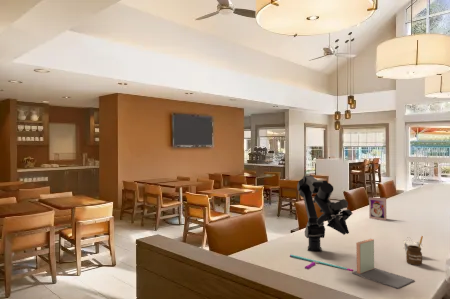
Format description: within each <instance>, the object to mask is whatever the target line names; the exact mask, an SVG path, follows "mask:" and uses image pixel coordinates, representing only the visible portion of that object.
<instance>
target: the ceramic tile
mask: <svg viewBox="0 0 450 299" xmlns="http://www.w3.org/2000/svg"><path fill="white" fill-rule="evenodd" d="M355 243H356V247H355V248H356V271H357V273H359V274H361V273H364V272H366V271H369V270H372V269H374V268H375V240H374V239H373V238H369V239H364V240H362V241H358V242H355Z"/></svg>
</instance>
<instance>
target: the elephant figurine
mask: <svg viewBox="0 0 450 299" xmlns="http://www.w3.org/2000/svg"><path fill="white" fill-rule="evenodd" d="M412 242H413V243H412ZM407 243H408V244H407ZM410 244H412V245H413V246H418V247H419V244H420V240H418V241H416V242H415V241H407V242H406V241H405V240H403V249H404V252H405V253H406V252H407V250H408V249H407V246H408V245H409V246H410ZM423 247H424V246H423V244H422V243H421V244H420V248H421V250H422V249H423Z"/></svg>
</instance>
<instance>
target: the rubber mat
mask: <svg viewBox="0 0 450 299" xmlns="http://www.w3.org/2000/svg"><path fill="white" fill-rule="evenodd" d="M351 272H352V274H353V275H356V276H359V277H361V278H364V279H368V280H370V281H373V282H376V283H379V284H382V285H385V286H387V287H391V288H394V289H397V290H398V289H401V288H403V287H405V286H407V285H408V284H411V283H413V282H415V279H413V278H409V277H406V276H403V275H399V274H395V273H393V272H389V271H386V270H383V269H380V268H377V267H374V269H372V270H369V271H366V272H364V273H361V274H359V273H357V270H356V271H351Z"/></svg>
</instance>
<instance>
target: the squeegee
mask: <svg viewBox="0 0 450 299" xmlns="http://www.w3.org/2000/svg"><path fill="white" fill-rule="evenodd" d="M289 257H290V258H293V259H297V260H304V261H308V262H310V263H309V264H307V265H306V266H304V268H305V269H307V270H309V269H311V267H314V266H316V264H317V265H319V264H320V265H325V266H330V267H334V268H338V269H342V270H345V271H349V272H354V269H353V268H352V269H351V268H347V267H344V266H341V265H340V266H339V265H335V264H331V263H328V262H323V261H319V260H314V259H312V258H307V257H303V256H298V255H295V254H290V255H289Z"/></svg>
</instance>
